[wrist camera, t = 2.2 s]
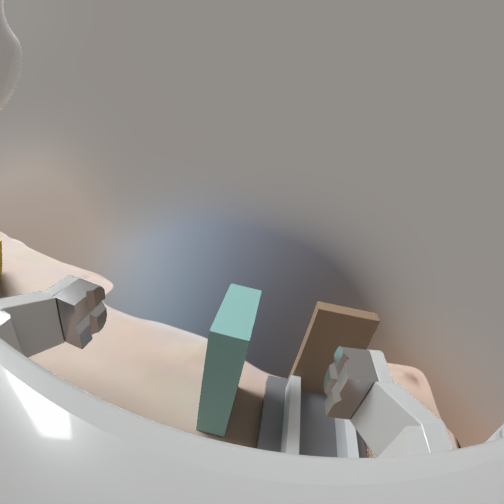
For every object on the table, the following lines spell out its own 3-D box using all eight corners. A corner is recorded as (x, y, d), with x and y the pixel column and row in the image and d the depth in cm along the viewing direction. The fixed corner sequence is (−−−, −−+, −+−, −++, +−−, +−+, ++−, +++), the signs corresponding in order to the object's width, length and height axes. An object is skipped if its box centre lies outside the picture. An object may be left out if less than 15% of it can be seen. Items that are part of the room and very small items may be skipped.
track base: (245, 507, 17) (289, 448, 12) (266, 381, 34) (294, 295, 29) (365, 512, 16) (452, 447, 12) (351, 395, 33) (395, 317, 29)
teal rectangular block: (195, 429, 25) (208, 330, 20) (212, 380, 33) (230, 283, 28) (225, 437, 25) (251, 341, 20) (237, 386, 32) (262, 291, 27)
